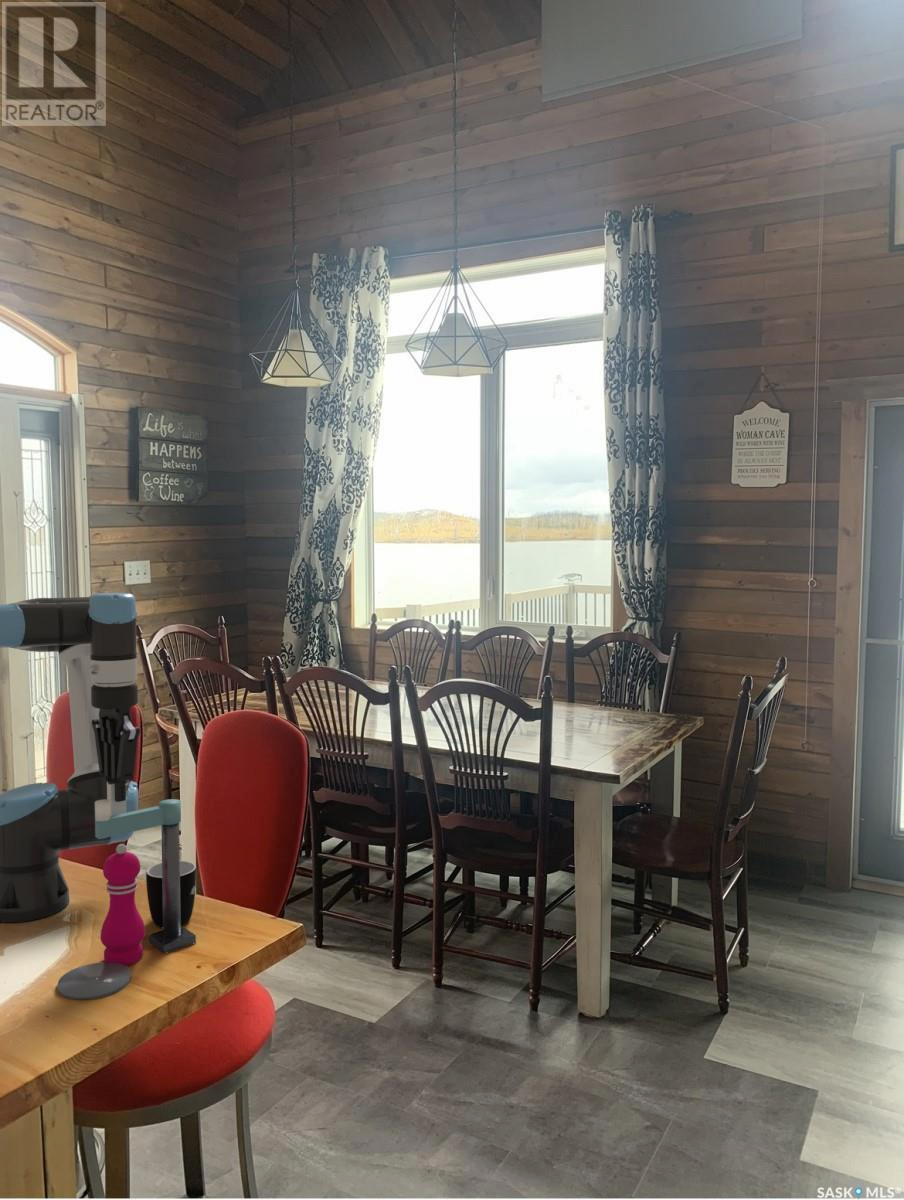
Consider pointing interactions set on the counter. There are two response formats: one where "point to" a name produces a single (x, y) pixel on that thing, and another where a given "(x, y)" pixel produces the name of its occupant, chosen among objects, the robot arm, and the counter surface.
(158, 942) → the post
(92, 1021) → the counter surface
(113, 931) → the pepper mill
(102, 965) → the slate coaster
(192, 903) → the mug
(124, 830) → the pegged blue crossbar
